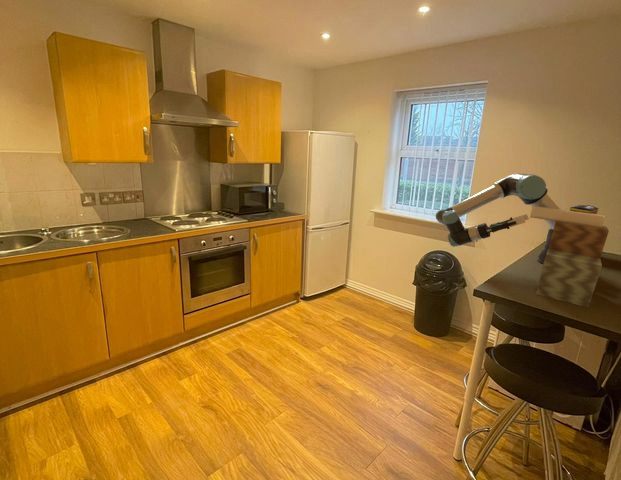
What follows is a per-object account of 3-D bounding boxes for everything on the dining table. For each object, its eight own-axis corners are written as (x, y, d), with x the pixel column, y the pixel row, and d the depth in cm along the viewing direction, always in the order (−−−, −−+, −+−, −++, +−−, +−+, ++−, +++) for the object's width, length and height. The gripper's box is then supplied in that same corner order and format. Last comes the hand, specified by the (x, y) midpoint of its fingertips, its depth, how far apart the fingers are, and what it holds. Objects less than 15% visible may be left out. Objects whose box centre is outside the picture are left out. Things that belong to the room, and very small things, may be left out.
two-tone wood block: (535, 293, 144) (553, 226, 136) (540, 278, 164) (556, 219, 156) (588, 307, 133) (611, 235, 126) (586, 289, 153) (606, 226, 146)
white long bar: (529, 217, 155) (532, 206, 154) (530, 216, 158) (533, 206, 157) (601, 228, 140) (605, 216, 139) (601, 226, 143) (604, 215, 142)
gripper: (487, 235, 180) (531, 222, 167) (476, 243, 161) (525, 229, 148) (482, 222, 181) (526, 208, 167) (471, 228, 162) (519, 213, 148)
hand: (526, 218), depth 158 cm, fingers open, 13 cm apart
